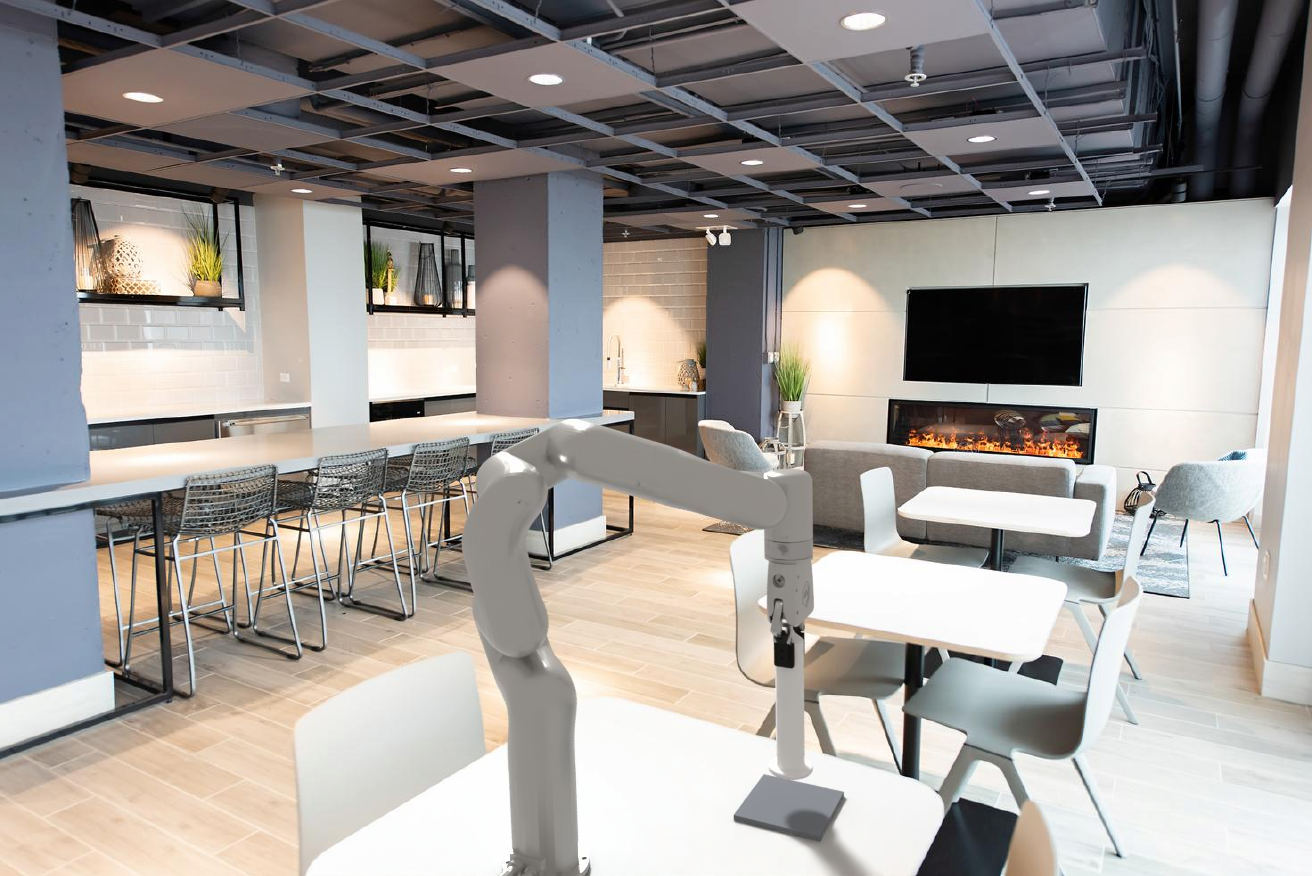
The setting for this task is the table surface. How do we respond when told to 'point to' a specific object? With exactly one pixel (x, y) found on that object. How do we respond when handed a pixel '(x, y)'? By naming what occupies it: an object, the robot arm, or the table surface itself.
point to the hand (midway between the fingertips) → (789, 659)
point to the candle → (790, 719)
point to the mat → (790, 807)
